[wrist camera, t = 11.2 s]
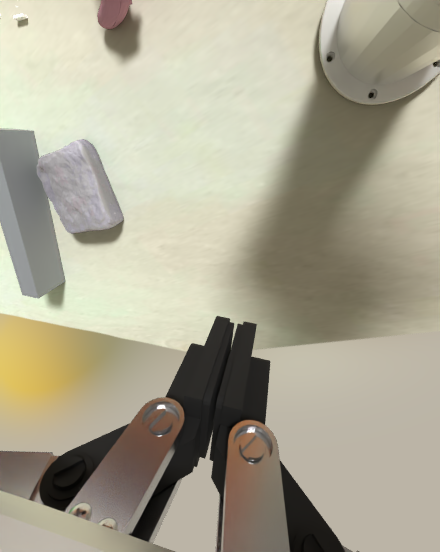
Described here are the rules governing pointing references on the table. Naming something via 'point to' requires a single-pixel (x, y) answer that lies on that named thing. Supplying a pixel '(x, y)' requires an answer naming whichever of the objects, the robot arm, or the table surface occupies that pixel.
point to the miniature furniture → (19, 16)
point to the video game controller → (112, 12)
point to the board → (27, 215)
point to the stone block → (79, 188)
